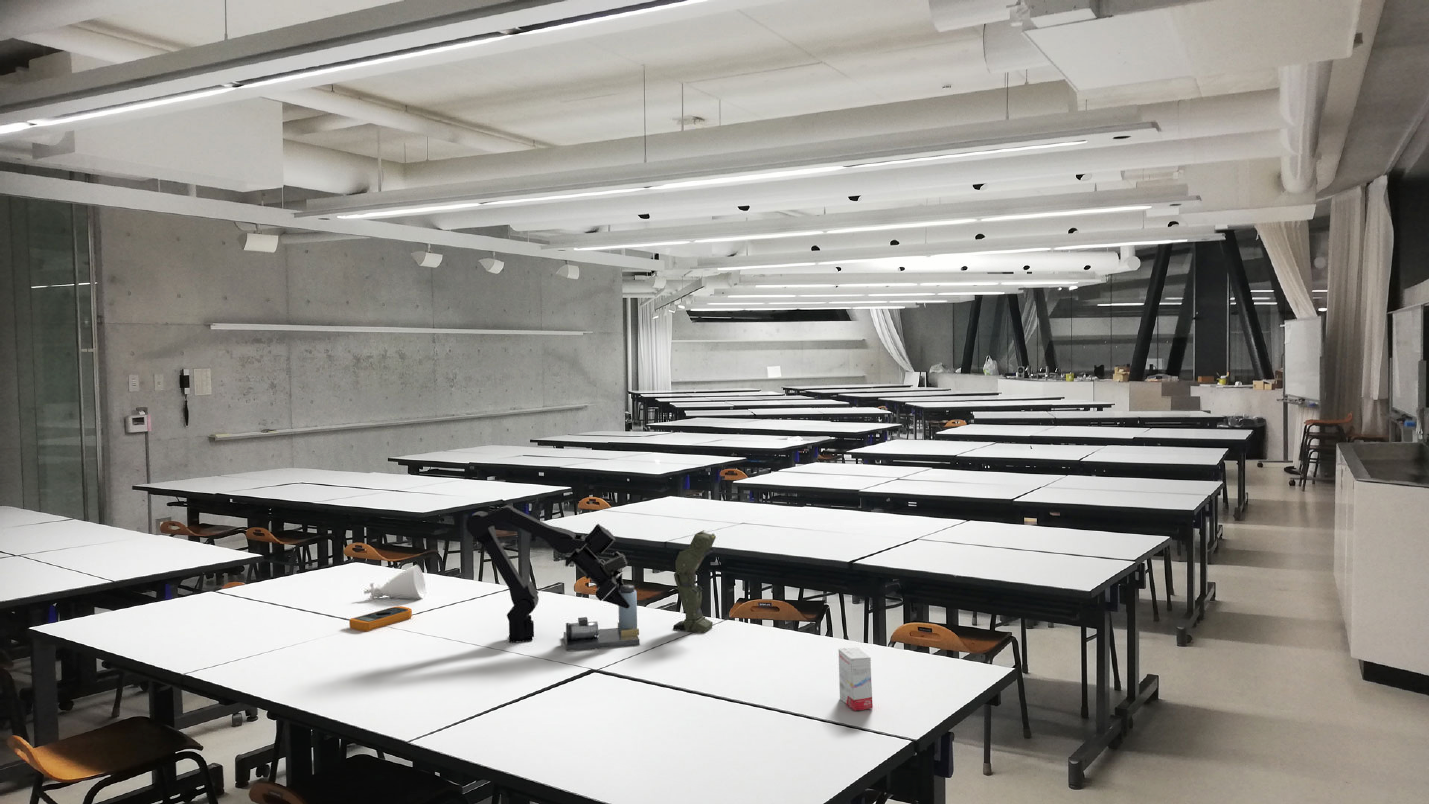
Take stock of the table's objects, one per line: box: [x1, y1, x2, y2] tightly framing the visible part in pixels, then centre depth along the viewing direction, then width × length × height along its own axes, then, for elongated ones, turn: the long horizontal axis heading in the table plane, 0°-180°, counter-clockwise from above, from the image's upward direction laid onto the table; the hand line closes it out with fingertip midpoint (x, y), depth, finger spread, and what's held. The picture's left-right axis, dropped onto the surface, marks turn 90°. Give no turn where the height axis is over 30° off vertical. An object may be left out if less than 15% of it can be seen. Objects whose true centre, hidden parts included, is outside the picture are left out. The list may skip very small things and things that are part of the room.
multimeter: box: [348, 605, 413, 633], centre depth 284 cm, size 9×18×3 cm, turn 147°
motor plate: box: [563, 616, 641, 652], centre depth 262 cm, size 20×13×7 cm, turn 103°
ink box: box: [837, 646, 874, 712], centre depth 211 cm, size 9×5×12 cm, turn 13°
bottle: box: [617, 584, 638, 633], centre depth 265 cm, size 5×5×13 cm
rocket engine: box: [363, 564, 427, 602], centre depth 314 cm, size 12×12×18 cm
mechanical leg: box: [672, 529, 717, 634], centre depth 271 cm, size 14×7×30 cm, turn 68°
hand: (630, 603), depth 265 cm, fingers open, 9 cm apart
